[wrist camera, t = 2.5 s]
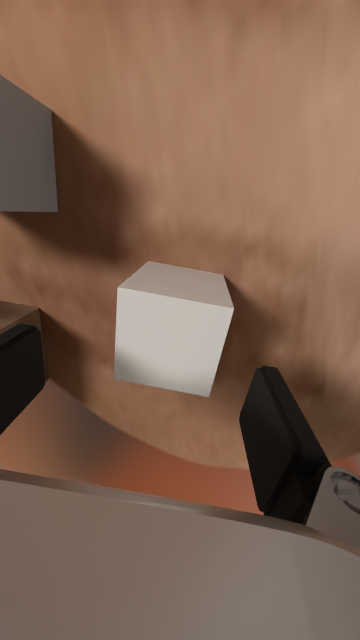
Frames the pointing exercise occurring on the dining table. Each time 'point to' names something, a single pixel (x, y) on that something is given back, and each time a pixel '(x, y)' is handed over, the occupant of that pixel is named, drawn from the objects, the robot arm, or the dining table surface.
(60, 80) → the dining table surface
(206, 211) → the dining table surface
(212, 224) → the dining table surface
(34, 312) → the metal block
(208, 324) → the ceramic block
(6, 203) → the grey block
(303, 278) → the dining table surface
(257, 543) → the robot arm
